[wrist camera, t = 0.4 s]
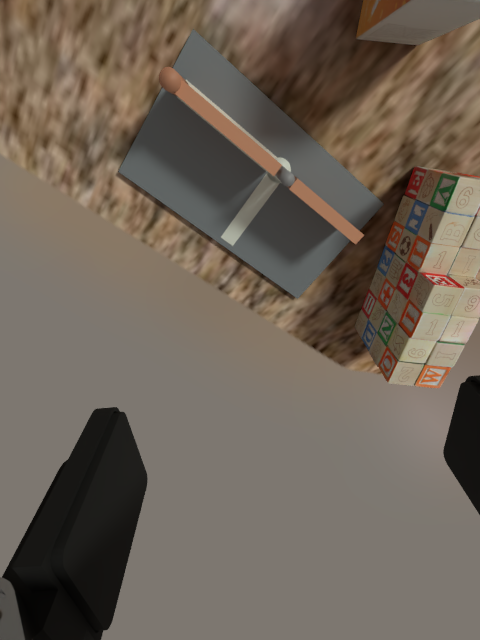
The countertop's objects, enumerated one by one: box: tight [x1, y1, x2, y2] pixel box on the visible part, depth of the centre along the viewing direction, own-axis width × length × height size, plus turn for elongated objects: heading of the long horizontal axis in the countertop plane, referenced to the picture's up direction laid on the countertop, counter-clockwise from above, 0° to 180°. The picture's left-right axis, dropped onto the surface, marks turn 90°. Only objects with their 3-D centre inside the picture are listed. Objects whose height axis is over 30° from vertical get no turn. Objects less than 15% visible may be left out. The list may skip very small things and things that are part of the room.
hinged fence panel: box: [275, 166, 364, 244], centre depth 35 cm, size 10×1×7 cm, turn 53°
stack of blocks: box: [355, 167, 480, 388], centre depth 38 cm, size 21×6×12 cm, turn 172°
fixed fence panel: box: [159, 67, 282, 176], centre depth 32 cm, size 12×2×7 cm, turn 53°
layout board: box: [118, 29, 383, 299], centre depth 38 cm, size 26×15×1 cm, turn 53°
